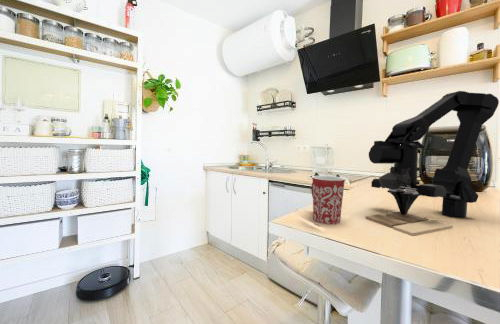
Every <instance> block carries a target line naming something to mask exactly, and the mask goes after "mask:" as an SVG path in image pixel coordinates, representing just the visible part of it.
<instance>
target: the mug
mask: <svg viewBox="0 0 500 324" xmlns="http://www.w3.org/2000/svg"><path fill="white" fill-rule="evenodd" d="M311 178H312V183H311V197H312V215H313V216H312V219H313V221H315V222H316V223H319V224H323V225H337V224H340V223H341V217H342V216H341V215H342V208H343V198H344V190H345V188H344V187H345V182H346V178H345V177H342V176H341V177H340V176H334V175H313V176H311ZM316 223H314V224H315V226H319V227H320V225H319V224H316Z"/></svg>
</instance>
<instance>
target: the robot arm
mask: <svg viewBox="0 0 500 324" xmlns="http://www.w3.org/2000/svg"><path fill="white" fill-rule="evenodd" d="M499 103H500V102H499V99H498V97H497V96H495V95H494V94H493V93H484V92H483V93H479V92H468V91H464V90H458V91H455V92H449V93H447V94H446V93H445V94H444V95H443V96H442V97H441V98H440V99H439V100H437V101H436V102H434V103H433V104H431V105H430V106H429V107H427V108H426V109H424V110H423V111H422V112H420V113H419V114H417V115H415V116H414V117H410V118H408V119H405V120H403V121H402V120H401V121H400V122H399V123H396V124H395V125H394V126H393V127H392V128H391V129H392V130H391V132H390V133H389V134H388V136H387V137H386V139H385V140H374V141H373V145H372V146H371V147H370V149H369V151H368V159H369V162H371V163H372V164H381V165H382V164H385V165H387V164H388V165H389V164H393V166H390V167H391V168H390V171H389V172H387V173H385V174H383V175H382V176H379V177H378V178H373V179H372V181H371V186H370V187H371V188H375V189H387V191H386V192H387V193H389V194H391V195H392V196H393V197H394V199H395V201H396V204H397V207H398V210H399V212H400V213H401V214H403V215H405V214H406V213H408V211H409V210H410V209H411V207H412V206H413V204H414V203H415V201H416V200H417V199H418V198H419V196H422V197H429V198H442V205H441V206H442V207H441V216H445V217H449V218H458V219H459V218H460V219H465V218H467V213H468V203H470V204H471V203H472V204H473V203H477V201H478V198H479V194H478V193H477V192H476V191H475V190H474V188H473V187H472V186H471V184H472V177H471V175H470V172H469V170H468V169H469V168H468V167H469V166H470V163H471V159H472V156H473V153H474V151H475V147H476V144H477V142H478V138H479V135H480V132H481V130H482V127H483V126H484V125H483V124H485V123H486V122H487V121H489V120H490V119H491V118H492V117H493V116H494V115H495V112H496V110H497V109H498V107H499ZM452 111H453V112H456V118H457V119H458V120H459V125H458V129H457V132H456V135H455V138H454V141H453V143H452V147H451V149H450V151H449V152H450V153H449V156H448V158H447V162H446V164H445V166H444V167H442V168H436V169H435V170H434V174H433V177H432V178H431V181H432V184H431V183H426V184H425V183H424V184H423V183H422V184H420V180H418V179H417V178H418V176H417V175H418V172H420V171H421V167H418V160H419V159H418V156H419V150H424V149H425V148H426V147H425V145H423V144H422V143H421V142H420V141H419V140H421V139H422V138H423V137H424V136H425V135H426V134H427V133H428V132H429V129H430V127H431V126H432V125H433V124H435V123H436V122H438V121H439V120H440V119H442V118H443V117H445V116H447V114H449V113H450V112H452Z"/></svg>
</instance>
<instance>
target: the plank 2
mask: <svg viewBox="0 0 500 324" xmlns="http://www.w3.org/2000/svg"><path fill="white" fill-rule="evenodd" d="M386 216H387V217H391V218H394V219H397V220H401V221H404V222H407V223H408V224H410V223H416V222H422V221H428V220H429V218H426V217H423V216H419V215H414V214H411V213H408V212H407V213H406V214H405V215H403V214H401V213H400V211H396V212H395V211H394V212H387V213H386Z"/></svg>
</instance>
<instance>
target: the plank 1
mask: <svg viewBox="0 0 500 324" xmlns="http://www.w3.org/2000/svg"><path fill="white" fill-rule="evenodd" d="M364 217H365V218H364V219H365V220H367V221H371V222H373V223H377V224H379V225H382V226H384V227H388V228H392V229H393V226H398V225H404V224H408V222H406V221H402V220H399V219H396V218H393V217H389V216H387V215H384V214H381V213H380V214H379V213H378V214H372V215H365V216H364Z"/></svg>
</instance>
